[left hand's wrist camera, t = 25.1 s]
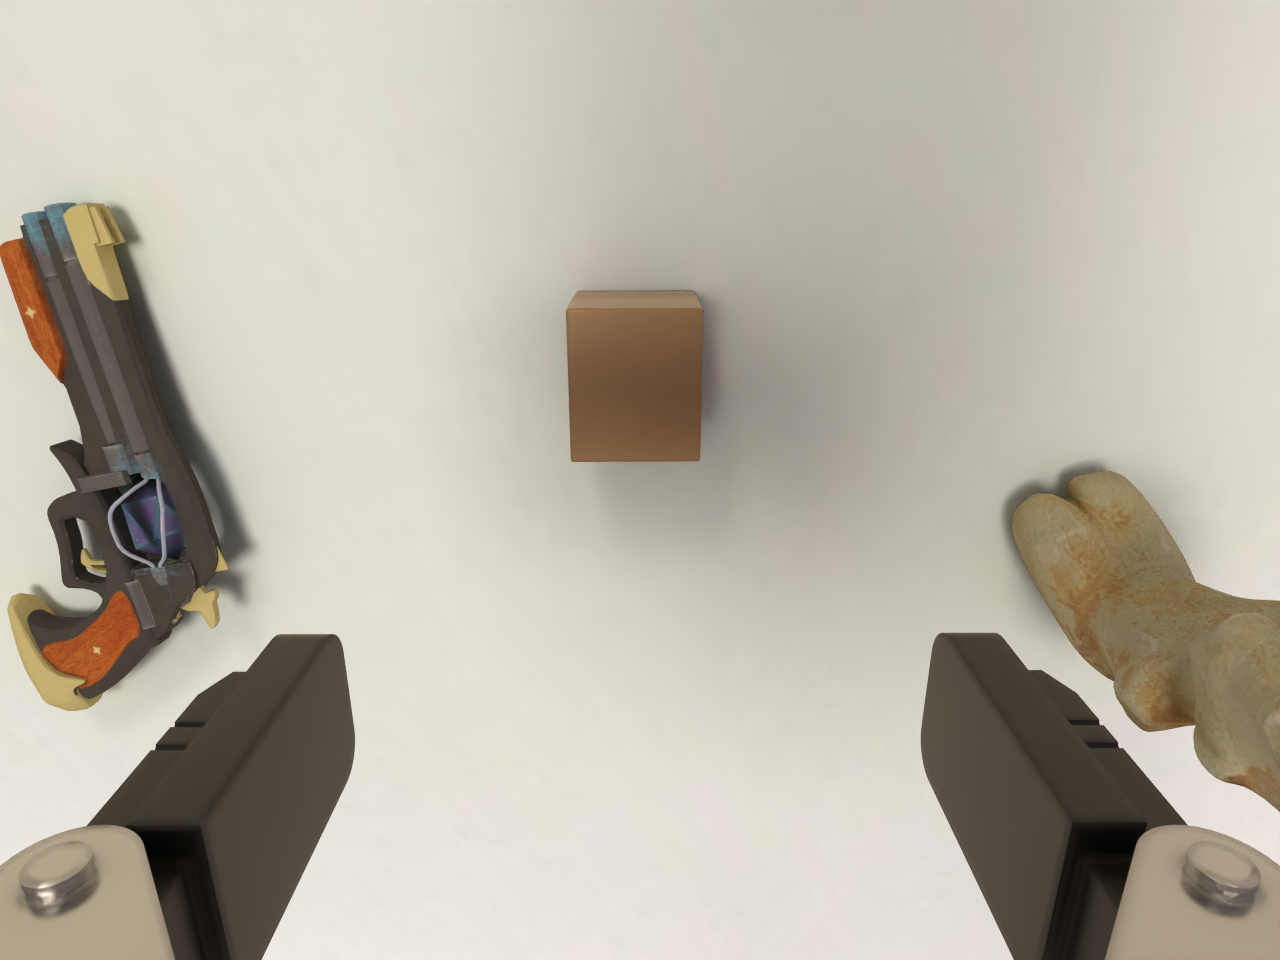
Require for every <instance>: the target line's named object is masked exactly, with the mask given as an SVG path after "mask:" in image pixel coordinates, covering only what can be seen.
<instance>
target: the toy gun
mask: <svg viewBox="0 0 1280 960" xmlns="http://www.w3.org/2000/svg"><path fill="white" fill-rule="evenodd" d="M44 209H45V211H39V212H31V213H27V214H23V215H22V216H21V217H22V220H23V222H24V225H21V226H20V227H21V230H22V234H23V238H20V239H16V240H12V241H7V242H5V243H3V244H2V245H1V246H0V257H1V260H2V263H3V266H4V269H5V272H6V275H7V278H8V280H9V283H10V286H11V289H12V292H13V295H14V297H15V300H16V303H17V306H18V309H19V312H20V314H21V317H22V320H23V323H24V326H25V329H26V331H27V334H28V337H29V340H30V342H31V344H32V347H33V348H34V350H35V351H36V353H37V354H38V355H39V356H40V358H41V359H42V360H43V361H44V363H45V364H46V365H47V367H48V368H49V369H50V370H51V372H52V373H53V374H54V375H55V377H56V378H57V379H58V380H59V381H60V383H63V384H64V385H65V387H66V389H67V392H68V394H69V397H70V400H71V403H72V406H73V408H74V411H75V414H76V417H77V420H78V423H79V425H80V430H81V435H82V441H83V445H82V444H80V443H78V442H76V441H74V440H68V441H65V442H61V443H58V444H55V445H52V446H50V450H51V452H52V453H53V454H54V455H55V457H56V458H57V459H58V460H59V462H60V463H61V465H62V466H63V467H64V469H65V471H66V472H67V474H68V475H69V477H70V479H71V481H72V483H73V485H74V487H75V489H76V491H75V492H72V493H69V494H67V495H64V496H61V497H59V498H57V499H56V500H54V501H53V502H52V503H51V505H50V506H49V508H48V511H47V515H48V519H49V521H50V524H51V526H52V529H53V531H54V534H55V537H56V541H57V544H58V549H59V554H60V562H61V573H62V581H63V584H64V585H65V586H66V587H68V588H84V589H89V590H92V591H94V592H97V593H98V594H99V595H100V596H101V597H102V599H103V601H102V604H101V606H100V607H99V609H98V610H97V611H95V612H94V613H93V614H92V615H90V616H89V617H87V618H65V617H59V616H57V615H56V614H55V613H54V612H53V611H52V610H51V609H50V607H49V606H48V605H47V604H46V603H45V602H43V601H42V600H41V599H40V598H38V597H37V596H35V595H31V594H23V593H19V594H16V595H14V596H12V597H11V600H10V602H9V605H8V615H9V620H10V624H11V628H12V631H13V635H14V638H15V642H16V646H17V649H18V651H19V654H20V657H21V660H22V662H23V665H24V668H25V670H26V672H27V674H28V675H29V677H30V679H31V681H32V682H33V684H34V686H35V687H36V689H37V690H38V692H39V694H40V695H41V697H42V698H43V700H44V701H45V702H46V703H48V704H49V705H52V706H55V707H58V708H61V709H64V710H67V711H77V710H83V709H87V708H89V707H91V706H93V705H94V704H95V703H96V702H97V701H98V700H99V699H100V698H101V697H102V694H103V692H105V691H106V690H108V689H109V688H111V687H112V686H113V685H115V684H116V683H117V682H119V681H120V680H121V679H122V678H124V677H125V676H126V675H127V674H128V673H129V672H130V671H131V670H132V669H133V668H134V667H135V665H136V664H137V663H138V662H139V661H140V660H141V659H142V657H143V656H144V655H145V654H146V653H147V652H148V651H149V649H150V648H151V647H153V646H156V645H159V644H160V643H162V642H163V641H164V640H166V639H167V638H169V636H170V634H171V632H172V628H174V627H175V626H176V625H178V624H179V623H180V621H181V620H182V618H183V615H184V613H185V610H186V611H198V612H200V613H201V614H202V616H203V617H204V619H205V620H206V622H207V623H208V625H209V626H210V628H211V629H213V628H214V627H215V626H216V625H217V624H218V623H219V619H220V617H219V610H218V605H217V598H218V596H219V590H218V589H213V590H208V589H207V588H206V587H205V585H206V584H207V583H208V581H209V580H210V579H211V578H212V577H213V576H214V575H215V573H216V572H217V571H223V570H228V569H229V568H228V566H227V564H226V562H225V560H224V558H223V556H222V554H221V548H220V544H219V540H218V537H217V534H216V531H215V528H214V525H213V522H212V520H211V517H210V514H209V511H208V508H207V505H206V502H205V499H204V496H203V493H202V491H201V488H200V486H199V483H198V481H197V479H196V476H195V474H194V472H193V470H192V468H191V466H190V464H189V462H188V460H187V458H186V456H185V454H184V453H183V451H182V449H181V447H180V445H179V444H178V442H177V440H176V438H175V436H174V435H173V433H172V431H171V429H170V426H169V424H168V421H167V419H166V416H165V413H164V410H163V407H162V404H161V401H160V399H159V396H158V392H157V389H156V386H155V383H154V380H153V377H152V374H151V371H150V368H149V364H148V361H147V358H146V355H145V352H144V349H143V346H142V343H141V340H140V336H139V333H138V330H137V327H136V324H135V321H134V318H133V315H132V311H131V308H130V304H129V301H128V299H129V296H128V293H127V290H126V286H125V283H124V280H123V277H122V274H121V271H120V268H119V265H118V262H117V258H116V255H115V252H114V249H113V245H117V244H121V243H125V240H124V238H123V236H122V234H121V232H120V230H119V228H118V226H117V224H116V221H115V219H114V217H113V215H112V213H111V211H110V209H109V207H105V206H104V204H95V203H85V204H81V205H77V204H75V203H58V204H51V205H48V206H45V207H44ZM128 484H130V485H129V486H128V487H127V489H126V490H125V491H124V492H123V495H122V496H121V494H120V492H119V489H118V487H119V486H124V485H128ZM76 518H79V519H82V520H84V521H86V522H88V523H90V525H91V528H92V531H93V533H94V536H95V538H96V541H97V544H98V546H99V549H100V552H101V555H102V557H103V559H101V560H98V559H94V558H93V557H92V556H91V554H90V553H89V551H88V550H87V549H86V548H85V549H83V542H82V537H81V533H80V530H79V527H78V524H77V520H76ZM184 545H185V547H184ZM183 547H184V548H183ZM145 552H146V553H150V554H154V555H158V556H162V559H156V560H150V561H148V559H147V556H146V554H145ZM184 552H185V555H182V553H184ZM98 565H105V568H102V567H99V566H98ZM86 567H88V568H91V569H93V570H95V571H98V572H101V573H106V577H100V576H97V575H94V574H92V573H90V572H88V571H87V569H86Z"/></svg>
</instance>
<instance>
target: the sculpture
mask: <svg viewBox="0 0 1280 960" xmlns="http://www.w3.org/2000/svg"><path fill="white" fill-rule="evenodd" d="M1012 532H1013V536H1014V540H1015V543H1016V545H1017V548H1018V550H1019V553H1020V555H1021V558H1022V560H1023V562H1024V564H1025V566H1026V568H1027V570H1028V572H1029V574H1030V576H1031V577H1032V579H1033V581H1034V583H1035V584H1036V586H1037V588H1038V590H1039V591H1040V593H1041V595H1042V596H1043V598H1044V600H1045V601H1046V603H1047V605H1048V606H1049V608H1050V610H1051V611H1052V613H1053V615H1054V616H1055V618H1056V620H1057V621H1058V623H1059V625H1060V626H1061V628H1062V630H1063V631H1064V633H1065V634H1066V636H1067V638H1068V639H1069V641H1070V642H1071V644H1072V645H1073V646H1074V648H1075V649H1076V650H1077V651H1078V652H1079V654H1080V655H1081V656H1082V657H1083V658H1084V659H1085V660H1086V661H1087V662H1088V663H1089V664H1090V665H1091V666H1092V667H1093V668H1095V669H1096V670H1097V671H1099V672H1100V673H1101V674H1103V675H1104V676H1105V677H1107V678H1109V679H1110V680H1112V681H1114V689H1115V694H1116V697H1117V699H1118V701H1119V702H1120V704H1121V705H1122V707H1123V709H1124V711H1125V712H1126V714H1127V716H1128V717H1129V718H1130V719H1131V720H1132V721H1133V722H1134V723H1135V724H1136V725H1137V726H1138V727H1139V728H1140V729H1142V730H1144V731H1147V732H1153V731H1163V730H1168V729H1173V728H1178V727H1183V726H1192V725H1196V727H1195V729H1194V749H1195V751H1196V754H1197V757H1198V759H1199V760H1200V762H1201V764H1202V765H1203V766H1204V767H1205V769H1206V770H1207V771H1208V772H1209V773H1211V774H1212V775H1213V776H1214V777H1216V778H1217V779H1219V780H1221V781H1224V782H1227V783H1232V784H1236V785H1240V786H1244V787H1246V788H1248V789H1250V790H1252V791H1253V792H1255V793H1256V794H1258V795H1259V796H1261V797H1263V798H1264V799H1265V800H1267V801H1268V802H1269V803H1270V804H1271V805H1272V806H1274V807H1275V808H1276V809H1277V810H1278V811H1279V812H1280V601H1273V600H1253V599H1246V598H1240V597H1235V596H1232V595H1229V594H1226V593H1223V592H1220V591H1217V590H1215V589H1212V588H1209V587H1207V586H1204V585H1202V584H1199V583H1197V582H1196V581H1195V579H1194V577H1193V575H1192V573H1191V571H1190V569H1189V566H1188V564H1187V562H1186V560H1185V558H1184V557H1183V555H1182V553H1181V551H1180V549H1179V548H1178V546H1177V545H1176V543H1175V541H1174V540H1173V538H1172V536H1171V535H1170V533H1169V532H1168V530H1167V529H1166V527H1165V525H1164V524H1163V522H1162V521H1161V519H1160V518H1159V516H1158V515H1157V514H1156V512H1155V511H1154V510H1153V508H1152V507H1151V506H1150V504H1149V503H1148V502H1147V501H1146V499H1145V498H1144V497H1143V495H1142V494H1141V493H1140V492H1139V491H1138V490H1137V489H1136V488H1135V486H1134V485H1133V484H1132V483H1131V482H1130V481H1128V480H1127V479H1126V478H1125V477H1123V476H1122V475H1120V474H1118V473H1115V472H1111V471H1098V472H1092V473H1087V474H1083V475H1079V476H1076V477H1075V478H1073V479H1072V480H1071V481H1070V483H1069V486H1068V490H1067V495H1066V499H1064V498H1061V497H1059V496H1056V495H1054V494H1047V493H1036V494H1033V495H1031V496H1030V497H1028V498H1027V499H1026V500H1025V501H1023V502H1022V503H1021V504H1020V505H1019V506H1018V507H1017V509H1016V510H1015V513H1014V515H1013V520H1012Z"/></svg>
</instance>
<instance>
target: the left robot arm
mask: <svg viewBox="0 0 1280 960" xmlns="http://www.w3.org/2000/svg"><path fill="white" fill-rule="evenodd" d="M354 749H355V732H354V724H353V717H352V710H351V702H350V695H349V688H348V681H347V673H346V666H345V659H344V652H343V647H342V644H341V641H340V639H339V638H338V636H336V635H334V634H280V635H277V636H275V637H274V638H273V639H272V640H271V641H270V643H269V644H268V645H267V646H266V648H265V649H264V650H263V651H262V653H261V654H260V655H259V656H258V658H257V659H256V660H255V661H254V663H253V664H252V665H251V667H250V668H249V669H248V670H247V672H232V673H231V674H229V675H228V676H226V677H225V678H223V679H222V680H220V681H218V682H217V683H215V684H214V685H212V686H211V687H209V688H208V689H206V690H205V691H203V692H202V693H200V694H199V695H197V697H196V698H195V699H194V700H193V701H192V702H191V704H190V705H189V706H188V707H187V708H186V710H185V711H184V712H183V713H182V714H181V715H180V717H179V718H178V719H177V720H176V721H175V727H170V728H169V730H168V731H167V732H166V733H165V734H164V735H163V737H162V738H161V739H160V740H159V741H158V743H157V744H156V749H155V750H151V751H150V752H149V753H148V754H147V755H146V757H145V758H144V759H143V760H142V761H141V763H140V764H139V765H138V766H137V767H136V768H135V770H134V771H133V772H132V773H131V774H130V776H129V777H128V778H127V779H126V780H125V781H124V783H123V784H122V785H121V786H120V787H119V788H118V790H117V791H116V792H115V793H114V794H113V796H112V797H111V798H110V799H109V800H108V801H107V803H106V804H105V805H104V806H103V807H102V809H101V810H100V811H99V812H98V813H97V814H96V816H95V817H94V818H93V819H92V820H91V821H90V823H89V824H88V825H87V826H86V827H80V828H76V829H72V830H68V831H65V832H62V833H59V834H56V835H53V836H51V837H48V838H46V839H44V840H41V841H39V842H37V843H35V844H33V845H31V846H29V847H27V848H26V849H24V850H22V851H21V852H19V853H18V854H16V855H14V856H13V857H11V858H10V859H9V860H7V861H6V862H5V863H3V864H2V865H1V866H0V960H261V959H262V957H263V955H264V953H265V951H266V949H267V947H268V945H269V943H270V941H271V939H272V937H273V935H274V933H275V930H276V928H277V926H278V924H279V922H280V920H281V918H282V916H283V914H284V912H285V910H286V908H287V906H288V903H289V901H290V899H291V897H292V895H293V893H294V891H295V889H296V887H297V885H298V883H299V881H300V879H301V876H302V874H303V872H304V870H305V868H306V866H307V864H308V862H309V860H310V858H311V856H312V854H313V852H314V850H315V847H316V845H317V843H318V841H319V839H320V837H321V835H322V833H323V831H324V829H325V827H326V825H327V823H328V820H329V818H330V816H331V814H332V812H333V810H334V808H335V806H336V804H337V802H338V800H339V798H340V796H341V793H342V791H343V789H344V787H345V785H346V783H347V781H348V778H349V775H350V772H351V768H352V764H353V758H354ZM921 751H922V759H923V764H924V768H925V772H926V775H927V778H928V780H929V782H930V784H931V786H932V788H933V791H934V793H935V795H936V797H937V799H938V801H939V803H940V805H941V807H942V809H943V812H944V814H945V816H946V818H947V820H948V822H949V824H950V826H951V828H952V831H953V833H954V835H955V837H956V839H957V841H958V843H959V845H960V847H961V849H962V852H963V854H964V856H965V858H966V860H967V862H968V864H969V866H970V868H971V870H972V873H973V875H974V877H975V879H976V881H977V883H978V885H979V887H980V889H981V891H982V894H983V896H984V898H985V900H986V902H987V904H988V906H989V908H990V910H991V912H992V915H993V917H994V919H995V921H996V923H997V925H998V927H999V929H1000V931H1001V933H1002V936H1003V938H1004V940H1005V942H1006V944H1007V946H1008V948H1009V950H1010V952H1011V954H1012V957H1013V959H1014V960H1280V866H1279V865H1278V864H1277V863H1275V862H1274V861H1273V860H1271V859H1270V858H1269V857H1267V856H1266V855H1264V854H1262V853H1261V852H1259V851H1258V850H1256V849H1254V848H1253V847H1251V846H1249V845H1247V844H1245V843H1243V842H1241V841H1239V840H1236V839H1234V838H1232V837H1229V836H1227V835H1224V834H1221V833H1218V832H1215V831H1212V830H1208V829H1204V828H1200V827H1194V826H1188V825H1187V824H1186V823H1185V821H1184V820H1183V819H1182V818H1181V817H1180V815H1179V814H1178V813H1177V812H1176V811H1175V810H1174V808H1173V807H1172V806H1171V805H1170V804H1169V802H1168V801H1167V800H1166V799H1165V798H1164V796H1163V795H1162V794H1161V793H1160V792H1159V790H1158V789H1157V788H1156V787H1155V786H1154V785H1153V783H1152V782H1151V781H1150V780H1149V779H1148V777H1147V776H1146V775H1145V774H1144V773H1143V771H1142V770H1141V769H1140V768H1139V767H1138V766H1137V764H1136V763H1135V762H1134V761H1133V760H1132V758H1131V757H1130V756H1129V755H1128V754H1127V752H1126V751H1125V750H1124V749H1123V748H1119V747H1118V742H1117V741H1116V739H1115V738H1114V737H1113V736H1112V735H1111V733H1110V732H1109V731H1108V730H1107V729H1106V727H1105V726H1104V725H1100V724H1099V719H1098V718H1097V717H1096V716H1095V714H1094V713H1093V712H1092V711H1091V710H1090V708H1089V707H1088V706H1087V705H1086V704H1085V703H1084V701H1083V700H1082V699H1081V698H1080V697H1079V695H1078V694H1077V693H1076V692H1074V691H1073V690H1071V689H1070V688H1068V687H1066V686H1065V685H1063V684H1062V683H1060V682H1059V681H1057V680H1056V679H1054V678H1053V677H1051V676H1050V675H1048V674H1047V673H1045V672H1044V671H1042V670H1028V669H1027V668H1026V667H1025V665H1024V664H1023V663H1022V661H1021V660H1020V659H1019V658H1018V656H1017V655H1016V654H1015V653H1014V651H1013V650H1012V649H1011V647H1010V646H1009V645H1008V644H1007V642H1006V641H1005V640H1004V638H1003V637H1002V636H1001V635H999V634H997V633H940V634H939V635H937V637H936V639H935V641H934V644H933V648H932V654H931V662H930V669H929V676H928V683H927V691H926V698H925V705H924V713H923V720H922V728H921Z"/></svg>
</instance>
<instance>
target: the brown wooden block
mask: <svg viewBox="0 0 1280 960" xmlns="http://www.w3.org/2000/svg"><path fill="white" fill-rule="evenodd" d="M566 325H567V355H568V386H569V417H570V448H571V461H572V462H651V461H699V460H700V441H701V394H702V348H703V308H702V306H701V304H700V302H699V301H698V299H697V297H696V295H695V293H694V291H692V290H663V291H577V292H576V294H575V296H574V297H573V299H572V301H571V303H570V304H569V306H568V308H567V310H566Z"/></svg>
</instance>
